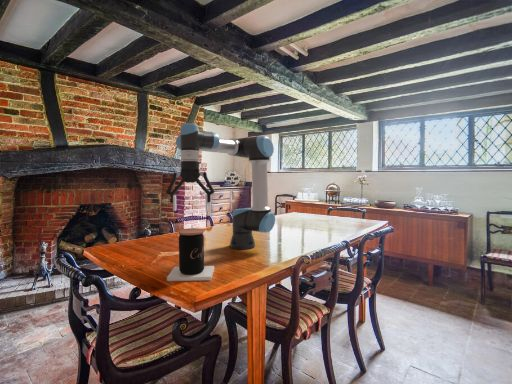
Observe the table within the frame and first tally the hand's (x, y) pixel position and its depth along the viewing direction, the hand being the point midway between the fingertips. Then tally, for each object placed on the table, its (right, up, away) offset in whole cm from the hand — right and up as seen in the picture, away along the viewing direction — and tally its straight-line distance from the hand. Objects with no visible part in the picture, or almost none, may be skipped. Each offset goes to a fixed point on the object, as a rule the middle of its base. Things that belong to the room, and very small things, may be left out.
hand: (191, 210), depth 125 cm
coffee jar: (0, -27, +2) cm, 27 cm away
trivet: (0, -28, +2) cm, 28 cm away
